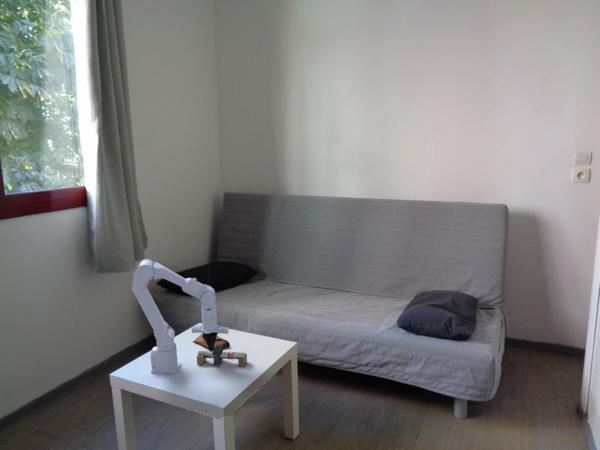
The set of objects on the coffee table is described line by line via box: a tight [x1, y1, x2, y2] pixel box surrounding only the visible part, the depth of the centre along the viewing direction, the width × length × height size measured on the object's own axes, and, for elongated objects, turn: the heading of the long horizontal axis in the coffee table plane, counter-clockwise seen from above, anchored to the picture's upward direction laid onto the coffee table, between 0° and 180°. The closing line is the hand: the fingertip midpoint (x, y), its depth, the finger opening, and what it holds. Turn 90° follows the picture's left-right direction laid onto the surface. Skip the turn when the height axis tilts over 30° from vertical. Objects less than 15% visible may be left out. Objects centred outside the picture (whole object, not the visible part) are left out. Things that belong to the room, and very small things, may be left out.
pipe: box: [196, 350, 248, 368], centre depth 180 cm, size 19×4×5 cm, turn 82°
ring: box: [212, 344, 224, 366], centre depth 180 cm, size 2×6×6 cm, turn 172°
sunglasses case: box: [192, 333, 231, 352], centre depth 199 cm, size 18×7×7 cm, turn 46°
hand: (211, 349), depth 180 cm, fingers closed
